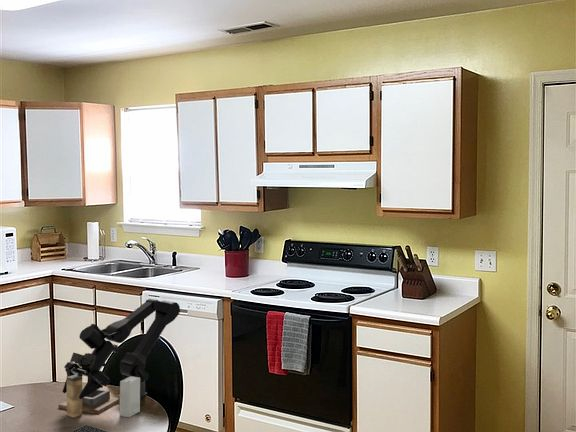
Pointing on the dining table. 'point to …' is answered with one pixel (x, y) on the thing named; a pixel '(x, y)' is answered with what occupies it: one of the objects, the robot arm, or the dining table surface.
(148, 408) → the dining table surface
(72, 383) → the beige tall block
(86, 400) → the peg socket base
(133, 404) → the skincare box
